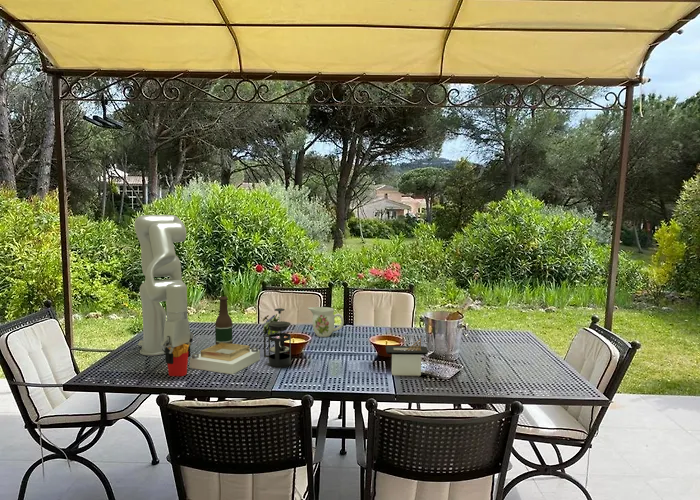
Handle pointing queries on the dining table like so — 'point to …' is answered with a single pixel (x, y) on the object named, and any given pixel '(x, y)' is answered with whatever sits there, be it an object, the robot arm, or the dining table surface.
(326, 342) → the dining table surface
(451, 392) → the dining table surface
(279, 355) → the french press
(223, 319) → the beer bottle
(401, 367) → the dark-capped white block
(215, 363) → the gold-rimmed square tray
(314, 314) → the pitcher
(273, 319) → the passion flower
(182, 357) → the french fries
